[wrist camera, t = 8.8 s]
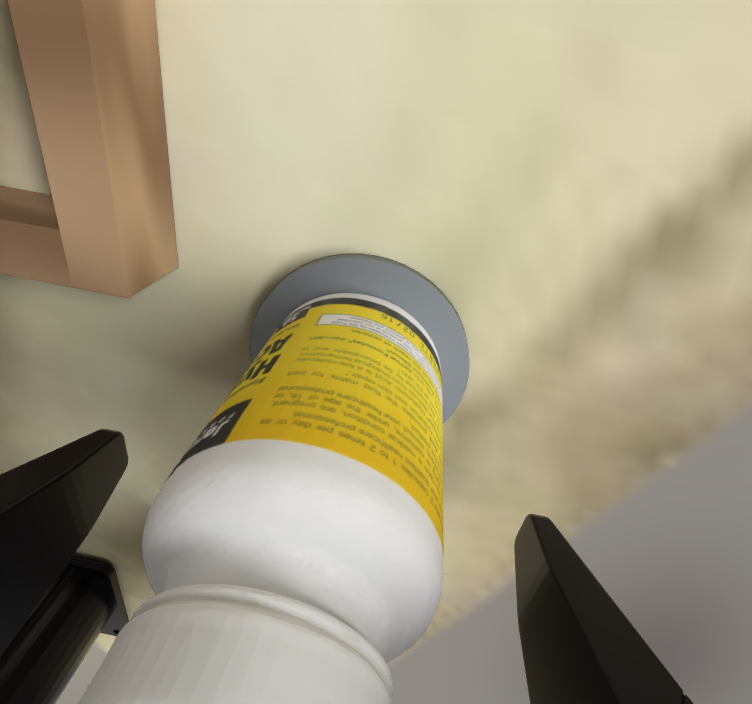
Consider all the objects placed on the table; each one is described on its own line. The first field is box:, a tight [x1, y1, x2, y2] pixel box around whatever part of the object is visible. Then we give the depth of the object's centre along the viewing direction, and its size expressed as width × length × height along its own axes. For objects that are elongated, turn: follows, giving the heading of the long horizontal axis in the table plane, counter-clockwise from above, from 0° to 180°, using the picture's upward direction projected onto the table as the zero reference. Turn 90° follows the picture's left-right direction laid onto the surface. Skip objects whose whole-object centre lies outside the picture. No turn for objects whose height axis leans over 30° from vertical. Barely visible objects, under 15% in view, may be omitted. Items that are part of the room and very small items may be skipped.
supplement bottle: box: [78, 293, 443, 704], centre depth 9 cm, size 5×5×10 cm
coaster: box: [250, 254, 470, 424], centre depth 14 cm, size 7×7×1 cm
